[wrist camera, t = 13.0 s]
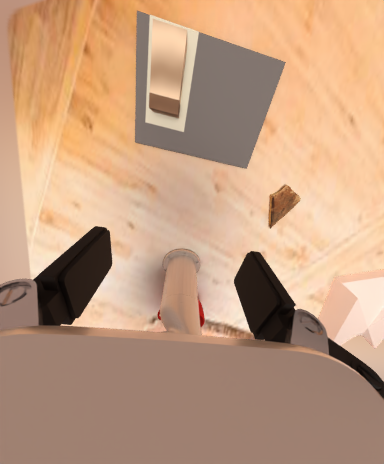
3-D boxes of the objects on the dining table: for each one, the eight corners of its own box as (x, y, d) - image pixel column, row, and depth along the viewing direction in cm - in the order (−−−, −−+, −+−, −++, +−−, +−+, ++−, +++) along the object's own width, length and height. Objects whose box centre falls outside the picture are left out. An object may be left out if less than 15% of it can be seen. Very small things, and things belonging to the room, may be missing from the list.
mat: (245, 168, 36) (246, 168, 35) (136, 142, 32) (135, 142, 32) (283, 63, 27) (285, 61, 26) (138, 13, 23) (136, 10, 23)
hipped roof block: (333, 275, 56) (358, 297, 48) (396, 265, 54) (433, 286, 46) (310, 333, 79) (325, 355, 71) (354, 327, 77) (374, 349, 69)
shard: (267, 226, 44) (270, 229, 43) (250, 213, 42) (253, 215, 41) (298, 197, 40) (303, 199, 39) (281, 181, 38) (285, 182, 36)
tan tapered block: (157, 36, 24) (152, 17, 21) (187, 46, 25) (187, 29, 21) (153, 112, 29) (148, 107, 26) (178, 118, 30) (177, 114, 26)
